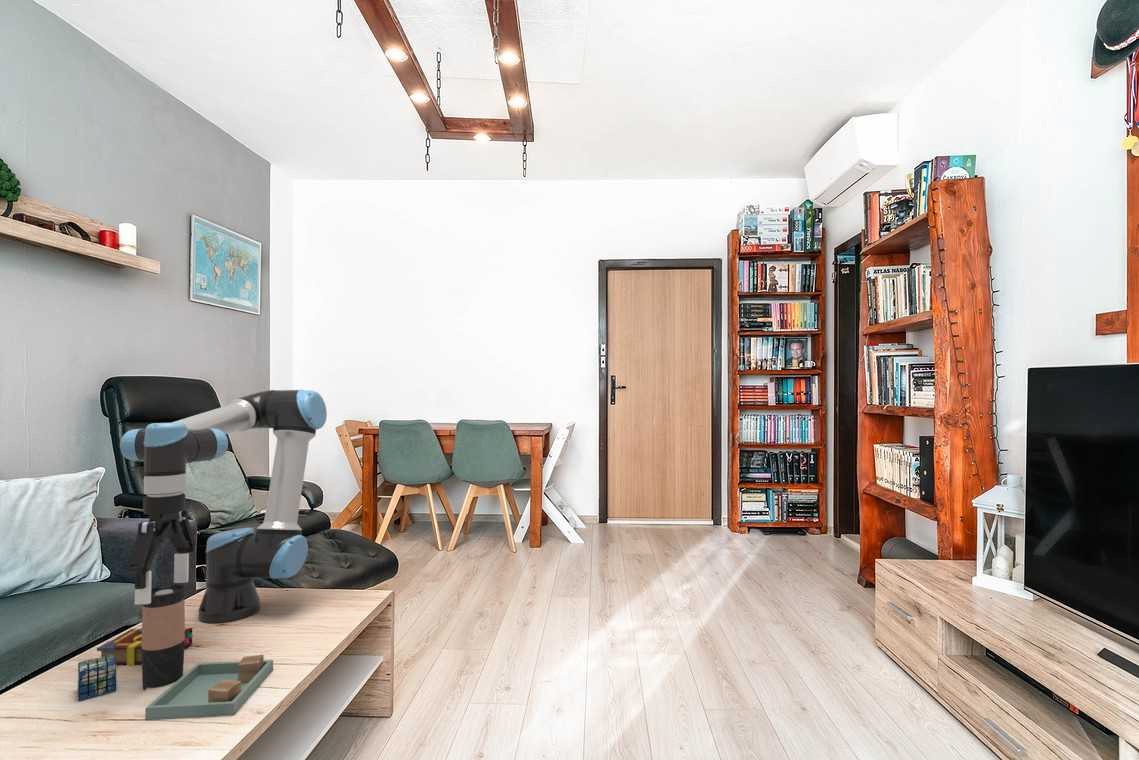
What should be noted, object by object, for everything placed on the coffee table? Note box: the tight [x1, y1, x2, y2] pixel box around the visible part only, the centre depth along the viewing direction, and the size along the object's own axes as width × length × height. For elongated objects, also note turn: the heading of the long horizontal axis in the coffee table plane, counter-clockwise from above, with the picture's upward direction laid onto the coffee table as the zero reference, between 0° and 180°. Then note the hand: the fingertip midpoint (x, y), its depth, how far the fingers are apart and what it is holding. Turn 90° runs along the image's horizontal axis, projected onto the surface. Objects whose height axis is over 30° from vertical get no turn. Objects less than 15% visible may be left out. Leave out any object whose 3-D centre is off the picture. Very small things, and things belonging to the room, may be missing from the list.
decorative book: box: [96, 627, 194, 667], centre depth 138 cm, size 11×16×5 cm
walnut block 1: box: [208, 680, 242, 703], centre depth 114 cm, size 4×4×4 cm
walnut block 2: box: [238, 654, 265, 683], centre depth 125 cm, size 4×4×4 cm
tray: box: [144, 659, 274, 721], centre depth 119 cm, size 18×16×3 cm
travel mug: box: [141, 583, 186, 691], centre depth 124 cm, size 8×8×20 cm
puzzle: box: [77, 654, 117, 702], centre depth 121 cm, size 6×6×6 cm
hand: (163, 592), depth 124 cm, fingers open, 13 cm apart
